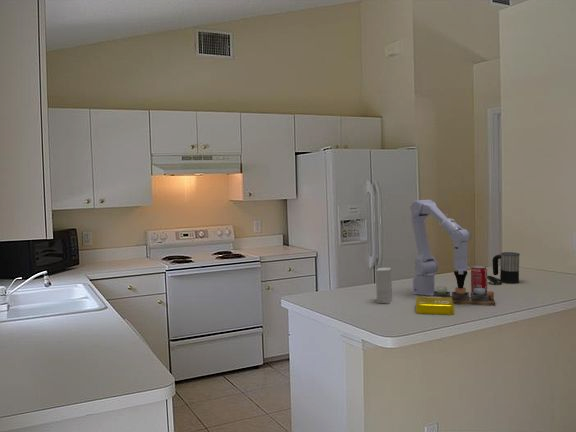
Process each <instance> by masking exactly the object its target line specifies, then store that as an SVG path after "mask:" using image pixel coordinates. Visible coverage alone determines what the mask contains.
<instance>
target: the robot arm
mask: <svg viewBox="0 0 576 432" xmlns="http://www.w3.org/2000/svg"><path fill="white" fill-rule="evenodd" d="M410 211H411V212H410V213H411V222H412V229H413V234H414V238H415V243H416V249H417V257H415V259H414V270H415V273H416V274H414V276H413V279H412V295H419V296H428V295H433V294H434V291H435V275H436V273H437V272H438V270H439V264H438V262H437V260H436V257H435V256H434V255H433V254H432V253H431V251H430V245H429V244H430V243H429V240H428V235H427V230H426V226H425V220H426V218H427V217H429V216H430V215H431V216H432V218H434V219H435V220H437V221H438V222H439V223H440V224H441V228H442V229H443V230H444V232H446V233H447V234H448V235H449V236H450V240H451V242H452V247H453V268H452V269H453V270H454V271H453V274H454V276H455V279H456V284H457V287H458V288H463V287H464V286H465V281H466V277H467V275H468V270H471V266H468V249H469V248H468V245H469V244H468V242H470V240H471V233H470V231H469V229H466V228H463V226H461V225H459V224H458V223H456V220H455V219H454V218H448V217H447V216H446V215H445V214H444V213H443V212H442V211H441V210H440V209H439V208H438V206H437V204H436V202H434V200H432V199H420V200H419V199H416V200H413V202H412V203H411V205H410Z"/></svg>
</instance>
